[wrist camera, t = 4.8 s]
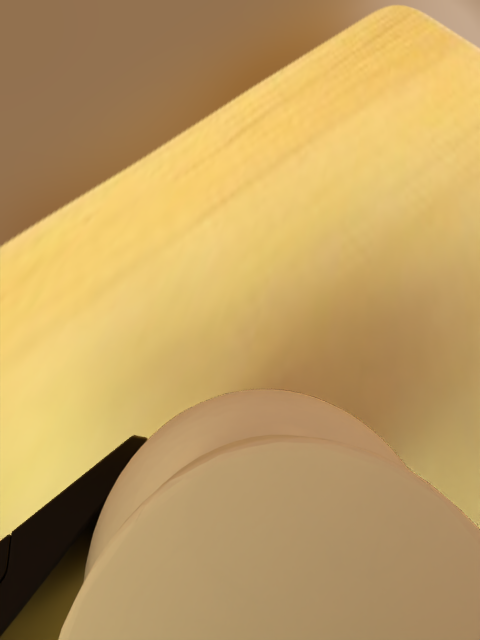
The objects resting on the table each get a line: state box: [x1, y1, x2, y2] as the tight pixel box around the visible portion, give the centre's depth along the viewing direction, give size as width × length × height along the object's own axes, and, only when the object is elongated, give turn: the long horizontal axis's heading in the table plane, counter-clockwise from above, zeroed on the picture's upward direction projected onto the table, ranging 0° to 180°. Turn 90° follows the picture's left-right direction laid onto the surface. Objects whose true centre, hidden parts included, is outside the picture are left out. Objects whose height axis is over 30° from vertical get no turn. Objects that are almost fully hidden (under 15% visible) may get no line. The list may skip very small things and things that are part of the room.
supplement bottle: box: [58, 389, 480, 640], centre depth 9 cm, size 7×7×13 cm
